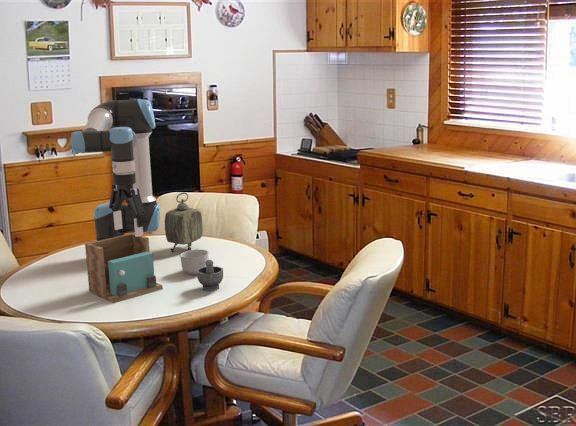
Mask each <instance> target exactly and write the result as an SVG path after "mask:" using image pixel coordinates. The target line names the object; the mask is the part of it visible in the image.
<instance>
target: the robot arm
mask: <svg viewBox="0 0 576 426" xmlns="http://www.w3.org/2000/svg"><path fill="white" fill-rule="evenodd" d="M155 121H156V119H155V114H154V109H153V106H152V103H151V102H150V101H149V100H148V99H139V98H138V99H122V100H121V99H118V100H108V101H103V102H102V103H100V104H98V105H97V106H95V107H94V108H93V109H92V110H90V112H89V114H88V116H87V123H86V124H85V126H84V127H83V129H82V131H80V130H77V131H73V132H71V135H70V146H71V150H72V151H73V153H75V154H88V153H90V154H91V153H108V152H109V153H110V152H111V167H112V172H113V174H112V177H113V179H112V180H113V184H111V195H110V199H109V201H107V202H104V203H100V204H98V205H97V206H95V208H94V209H93V210H94V211H93V219H94V229H95V239H96V241H100V240H104V239H109V238H113V237H118V236H122V235H126V234H131V233H135V236H136V237H138V236H144V233H151V232H156V231H158V229H159V227H160V220H161V203H159V202H157V198H156V197H155V196H154V195H153V185H152V169H151V156H150V154H151V153H150V141H149V138H150V136H151V134H152V133H153V130H154V129H155V128H156V122H155ZM124 201H125V202H126V203H127V204H124V203H123V202H124Z"/></svg>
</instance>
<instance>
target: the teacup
mask: <svg viewBox="0 0 576 426" xmlns="http://www.w3.org/2000/svg"><path fill="white" fill-rule="evenodd" d="M179 257H180V265H181V268H182V271H184V272H185V273H186V274H187V275H189V276H195V275H196V276H197V269H199V268H202V267H206V261H207V260H210V257H209V250H206V249H199V248H194V249H191V250H186V251H183V252H181V253H180V254H179Z"/></svg>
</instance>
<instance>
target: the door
mask: <svg viewBox="0 0 576 426" xmlns="http://www.w3.org/2000/svg"><path fill="white" fill-rule="evenodd" d="M108 267H109V279H110V291H111V294H112V295H114V296H118V287H117V285H121V284H124V283H125V284H126V285H127V293H129V292H133V291H136V290H140V289H143V288H147V287H148V284H147V277H150V276H155V267H154V254H153V252H151V251H150V252H143V253H139V254H135V255H131V256H127V257H123V258H119V259H115V260H110V261H108Z"/></svg>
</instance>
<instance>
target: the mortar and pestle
mask: <svg viewBox="0 0 576 426" xmlns="http://www.w3.org/2000/svg"><path fill="white" fill-rule="evenodd" d="M196 277H197V281H198V282H199V283H200V285H202V290H203V291H205V292H215V291H218V290H220V284H221V283H222V281H223V279H224V268H223V267H221V266H217V265H216V266H215V265H214V260H212V259H209V260H207V261H206V267H202V268H199V269H197V275H196Z"/></svg>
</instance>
